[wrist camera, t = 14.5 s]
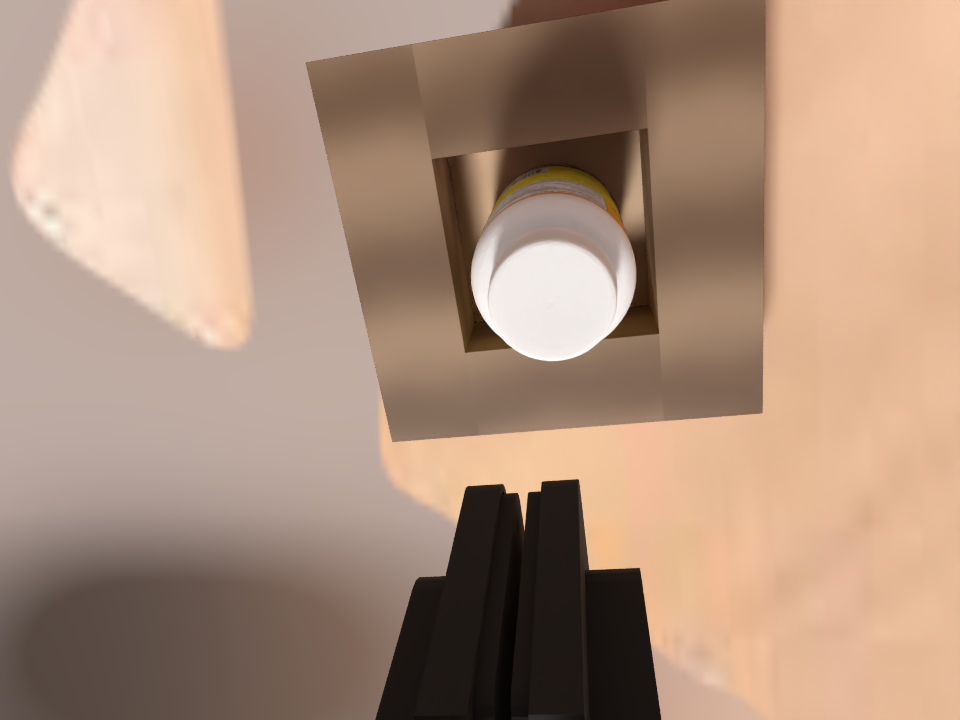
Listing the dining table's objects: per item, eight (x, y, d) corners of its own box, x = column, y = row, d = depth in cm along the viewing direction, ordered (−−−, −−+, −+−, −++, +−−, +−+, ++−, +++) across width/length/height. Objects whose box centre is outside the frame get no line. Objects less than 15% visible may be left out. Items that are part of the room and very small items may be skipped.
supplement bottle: (593, 303, 32) (605, 408, 22) (476, 265, 32) (439, 356, 22) (640, 183, 29) (674, 245, 20) (513, 143, 29) (490, 186, 20)
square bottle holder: (334, 61, 29) (305, 62, 26) (741, -9, 26) (765, -17, 23) (408, 406, 35) (392, 442, 32) (743, 377, 32) (762, 413, 29)
